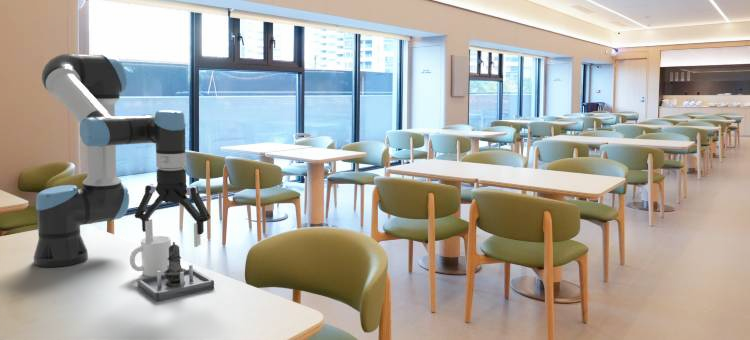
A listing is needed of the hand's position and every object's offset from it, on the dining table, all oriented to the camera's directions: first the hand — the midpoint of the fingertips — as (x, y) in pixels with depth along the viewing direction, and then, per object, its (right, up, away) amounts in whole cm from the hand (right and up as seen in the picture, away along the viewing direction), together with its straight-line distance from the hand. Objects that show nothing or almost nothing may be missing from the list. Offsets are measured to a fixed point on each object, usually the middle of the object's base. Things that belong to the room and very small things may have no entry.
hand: (173, 244), depth 162 cm
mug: (-11, -11, +13) cm, 20 cm away
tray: (0, -12, +1) cm, 12 cm away
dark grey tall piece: (0, -11, +1) cm, 11 cm away
